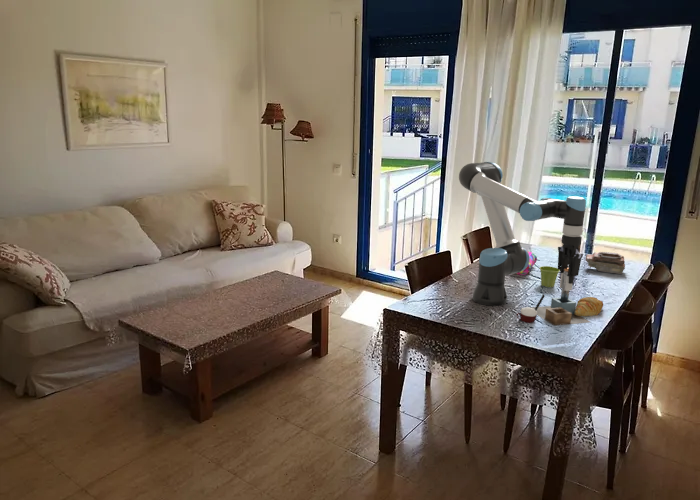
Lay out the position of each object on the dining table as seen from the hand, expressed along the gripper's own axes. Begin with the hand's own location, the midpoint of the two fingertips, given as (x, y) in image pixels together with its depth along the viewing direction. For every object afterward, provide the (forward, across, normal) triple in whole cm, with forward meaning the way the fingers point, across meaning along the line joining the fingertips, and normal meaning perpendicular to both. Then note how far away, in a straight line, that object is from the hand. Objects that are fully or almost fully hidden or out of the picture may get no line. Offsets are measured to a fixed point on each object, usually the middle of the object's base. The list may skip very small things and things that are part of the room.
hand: (565, 288), depth 224 cm
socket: (+11, 0, 0) cm, 11 cm away
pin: (+6, 0, 0) cm, 6 cm away
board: (+11, -3, +5) cm, 12 cm away
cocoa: (+11, -6, +20) cm, 24 cm away
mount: (+11, -8, +8) cm, 16 cm away
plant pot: (+11, +34, -16) cm, 39 cm away
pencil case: (+11, +59, -19) cm, 63 cm away
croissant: (+11, -2, -11) cm, 16 cm away
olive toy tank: (+11, +49, -60) cm, 78 cm away
